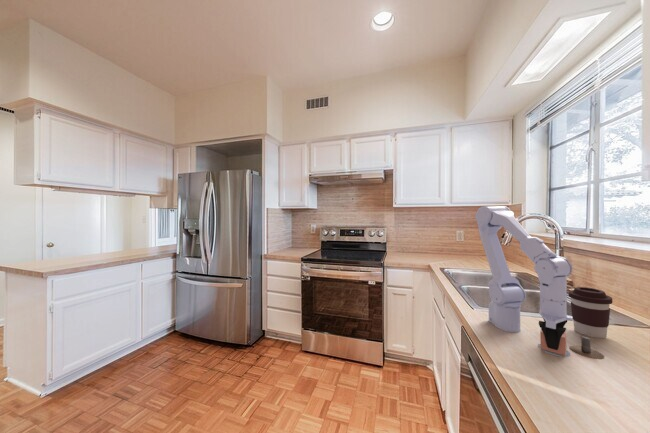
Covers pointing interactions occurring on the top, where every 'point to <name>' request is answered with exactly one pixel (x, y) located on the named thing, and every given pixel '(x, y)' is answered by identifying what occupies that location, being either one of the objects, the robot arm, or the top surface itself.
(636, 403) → the top surface
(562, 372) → the top surface
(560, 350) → the salmon square tube
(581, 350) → the hub
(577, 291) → the coffee cup
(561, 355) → the stand
